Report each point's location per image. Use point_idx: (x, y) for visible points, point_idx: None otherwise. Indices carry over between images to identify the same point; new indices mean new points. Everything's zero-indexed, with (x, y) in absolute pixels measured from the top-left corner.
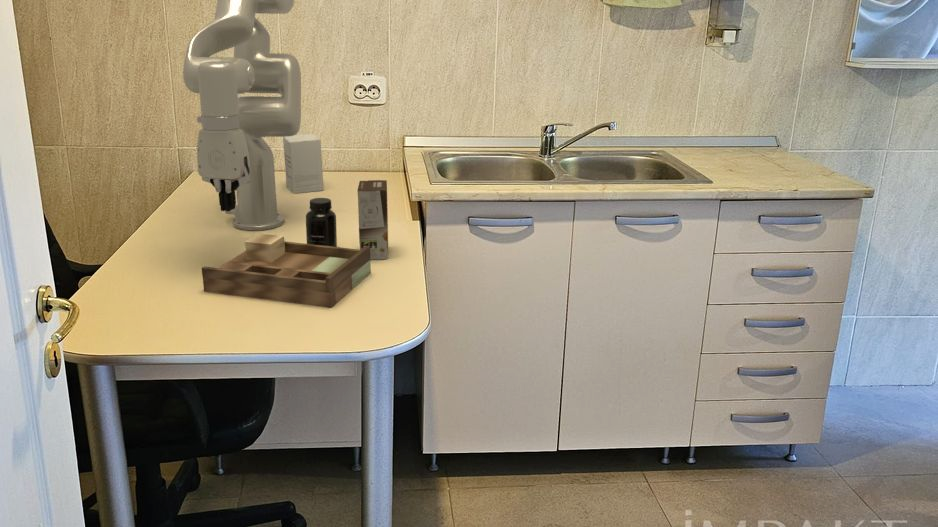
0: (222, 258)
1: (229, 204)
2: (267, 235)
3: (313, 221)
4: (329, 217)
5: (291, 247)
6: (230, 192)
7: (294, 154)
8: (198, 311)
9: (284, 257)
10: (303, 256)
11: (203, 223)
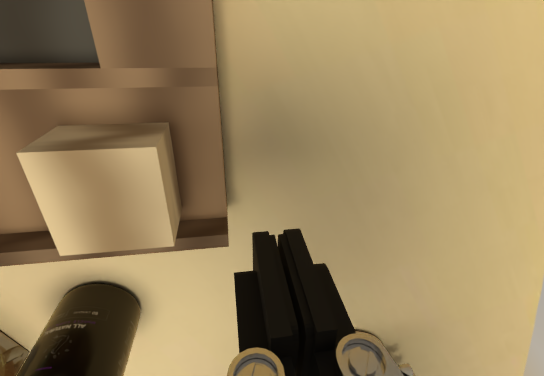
0: (310, 184)
1: (253, 277)
2: (124, 238)
3: (49, 373)
4: None
5: None
6: (234, 362)
7: None
8: None
9: None
10: (5, 212)
11: (440, 327)
